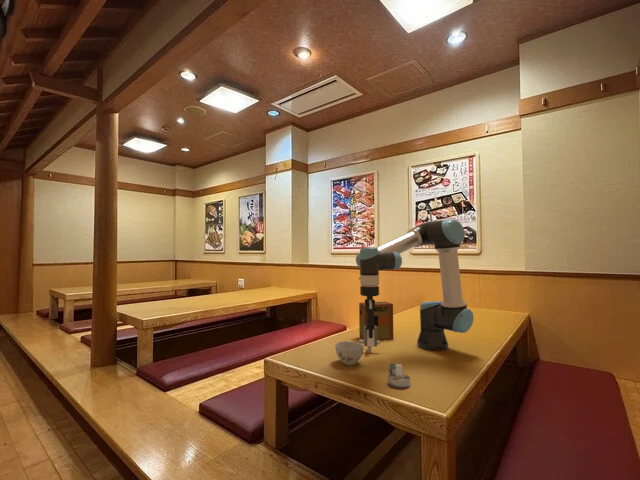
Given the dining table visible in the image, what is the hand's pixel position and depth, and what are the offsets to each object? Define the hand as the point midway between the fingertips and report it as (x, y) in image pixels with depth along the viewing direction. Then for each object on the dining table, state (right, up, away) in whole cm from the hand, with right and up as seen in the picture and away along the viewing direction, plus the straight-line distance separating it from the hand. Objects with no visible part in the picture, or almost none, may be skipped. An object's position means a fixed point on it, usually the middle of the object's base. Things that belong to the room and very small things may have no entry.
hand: (370, 343), depth 128 cm
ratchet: (+10, -12, -4) cm, 16 cm away
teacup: (-7, -13, +14) cm, 20 cm away
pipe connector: (+4, -14, +28) cm, 32 cm away
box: (+12, -15, +52) cm, 56 cm away
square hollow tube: (0, 0, 0) cm, 0 cm away
